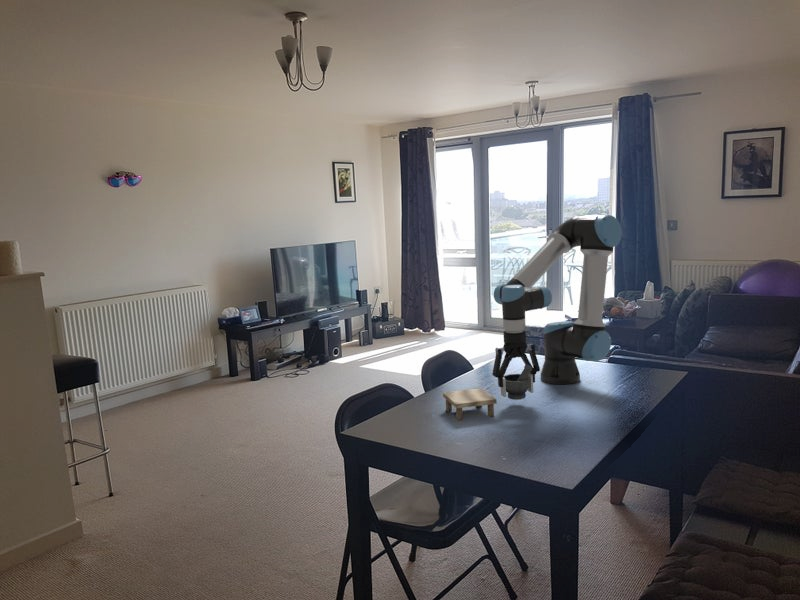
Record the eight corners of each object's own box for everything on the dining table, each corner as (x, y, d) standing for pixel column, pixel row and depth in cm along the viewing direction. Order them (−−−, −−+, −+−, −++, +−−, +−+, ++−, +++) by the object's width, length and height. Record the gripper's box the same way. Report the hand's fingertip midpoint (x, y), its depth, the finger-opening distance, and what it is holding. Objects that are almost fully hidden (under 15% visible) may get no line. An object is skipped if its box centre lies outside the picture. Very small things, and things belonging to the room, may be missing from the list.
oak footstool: (481, 404, 210) (480, 388, 209) (496, 416, 197) (496, 399, 196) (443, 409, 207) (442, 392, 206) (456, 421, 194) (456, 404, 193)
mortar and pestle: (497, 398, 207) (495, 365, 205) (510, 391, 214) (509, 358, 212) (526, 403, 200) (525, 368, 198) (539, 395, 207) (538, 362, 205)
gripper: (539, 325, 209) (541, 386, 213) (480, 332, 204) (483, 395, 208) (549, 328, 202) (551, 392, 206) (488, 336, 197) (491, 401, 201)
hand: (517, 393), depth 207 cm, fingers closed on mortar and pestle, 9 cm apart
